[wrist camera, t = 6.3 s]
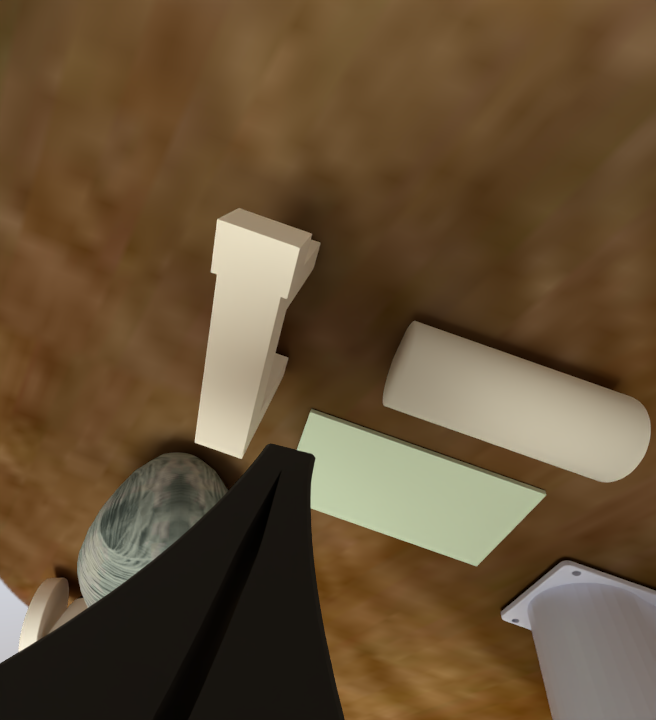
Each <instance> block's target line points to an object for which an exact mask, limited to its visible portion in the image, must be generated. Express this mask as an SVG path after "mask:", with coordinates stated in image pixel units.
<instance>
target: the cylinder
mask: <svg viewBox="0 0 656 720" xmlns="http://www.w3.org/2000/svg"><path fill="white" fill-rule="evenodd" d="M383 405H384V406H386V407H389V408H392V409H395V410H397V411H400V412H403V413H406V414H409V415H412V416H414V417H417V418H420V419H423V420H426V421H429V422H432V423H434V424H437V425H440V426H443V427H446V428H449V429H451V430H454V431H457V432H460V433H463V434H466V435H469V436H471V437H474V438H477V439H480V440H483V441H486V442H488V443H491V444H494V445H497V446H500V447H503V448H506V449H508V450H511V451H514V452H517V453H520V454H523V455H525V456H528V457H531V458H534V459H537V460H540V461H543V462H545V463H548V464H551V465H554V466H557V467H560V468H562V469H565V470H568V471H571V472H574V473H577V474H579V475H582V476H585V477H588V478H591V479H594V480H597V481H600V482H614V481H617V480H620V479H622V478H624V477H625V476H627V475H628V474H630V473H631V472H632V471H633V470H634V469H635V468H636V467H637V466H638V464H639V463H640V462H641V460H642V459H643V457H644V455H645V453H646V451H647V448H648V445H649V441H650V434H651V425H650V419H649V416H648V413H647V411H646V409H645V408H644V406H643V405H642V404H641V403H640V402H639V401H638V400H637V399H635V398H633V397H630V396H627V395H625V394H622V393H619V392H616V391H613V390H610V389H608V388H605V387H602V386H599V385H596V384H593V383H591V382H588V381H585V380H582V379H579V378H576V377H573V376H571V375H568V374H565V373H562V372H559V371H556V370H554V369H551V368H548V367H545V366H542V365H539V364H536V363H534V362H531V361H528V360H525V359H522V358H519V357H517V356H514V355H511V354H508V353H505V352H502V351H500V350H497V349H494V348H491V347H488V346H485V345H482V344H480V343H477V342H474V341H471V340H468V339H465V338H463V337H460V336H457V335H454V334H451V333H448V332H446V331H443V330H440V329H437V328H434V327H431V326H428V325H426V324H423V323H420V322H417V321H413V322H412V323H411V324H410V325H409V327H408V328H407V330H406V332H405V334H404V336H403V338H402V340H401V342H400V345H399V347H398V349H397V351H396V353H395V355H394V358H393V360H392V363H391V366H390V369H389V372H388V376H387V379H386V383H385V387H384V393H383Z"/></svg>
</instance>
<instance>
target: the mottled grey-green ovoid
mask: <svg viewBox="0 0 656 720" xmlns="http://www.w3.org/2000/svg"><path fill="white" fill-rule="evenodd" d="M227 492H228V489H227V488H226V486H225V485H224V483H223V482H222V480H221V479H220V477H219V476H218V474H217V473H216V471H215V470H213V469H212V468H211V467H210V466H209V465H207V464H206V463H205V462H204V461H202V460H201V459H199V458H198V457H196V456H194V455H192V454H187V453H179V452H177V453H166V454H162V455H160V456H159V457H157V458H155V459H153V460H152V461H150V462H148V463H147V464H145V465H143V466H142V467H140V468H139V469H137V470H135V471H134V472H133V473H132V475H131V476H130V477H129V478H128V479H127V480H126V481H125V482H124V483H123V484H122V485H121V486H120V487H119V488H118V489H117V490H116V491H115V492H114V494H113V495H112V496H111V497H110V498H109V500H108V501H107V502H106V503H105V505H104V506H103V507H102V508H101V510H100V511H99V513H98V515H97V517H96V518H95V520H94V522H93V523H92V525H91V526H90V528H89V530H88V532H87V535H86V537H85V540H84V542H83V545H82V547H81V549H80V552H79V557H78V563H77V573H78V579H79V584H80V590H81V593H82V595H83V598H84V600H85V603H86V605H87V607H90V606H91V605H93V604H94V603H96V602H97V601H98V600H100V599H101V598H103V597H104V596H106V595H107V594H109V593H110V592H112V591H113V590H114V589H116V588H117V587H118V586H120V585H121V584H122V583H124V582H125V581H127V580H128V579H129V578H131V577H132V576H133V575H134V574H136V573H137V572H138V571H140V570H141V569H142V568H143V567H145V566H146V565H147V564H149V563H150V562H151V561H152V560H154V559H155V558H156V557H157V556H159V555H160V554H161V553H162V552H163V551H165V550H166V549H167V548H168V547H169V546H171V545H172V544H173V543H174V542H175V541H177V540H178V539H179V538H180V537H181V536H182V535H183V534H184V533H186V532H187V531H188V530H189V529H190V528H191V527H192V526H193V525H194V524H195V523H196V522H197V521H199V520H200V519H201V518H202V517H203V516H204V515H205V514H206V513H207V512H208V511H209V510H210V509H211V508H212V507H213V506H214V505H215V504H216V503H217V502H218V501H219V500H220V499H221V498H222V497H223V496H224V495H225V494H226V493H227Z"/></svg>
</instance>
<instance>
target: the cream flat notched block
mask: <svg viewBox="0 0 656 720" xmlns="http://www.w3.org/2000/svg"><path fill="white" fill-rule="evenodd" d="M311 237H312V234H311V233H309V232H306V231H303V230H300V229H297V228H294V227H292V226H289V225H286V224H283V223H280V222H277V221H274V220H272V219H269V218H266V217H263V216H260V215H257V214H255V213H252V212H249V211H246V210H243V209H240V208H238V209H236V210H234V211H232V212H230V213H228V214H226V215H224V216H222V217H220V218H218V219H217V226H216V234H215V242H214V250H213V258H212V266H211V273H214V274H217V279H216V286H215V294H214V301H213V309H212V316H211V324H210V331H209V339H208V346H207V354H206V361H205V368H204V376H203V383H202V391H201V398H200V406H199V413H198V421H197V428H196V436H195V443H197V444H200V445H203V446H206V447H209V448H211V449H214V450H217V451H220V452H223V453H226V454H229V455H231V456H234V457H237V458H240V459H242V457H243V455H244V453H245V451H246V449H247V447H248V445H249V443H250V441H251V439H252V437H253V435H254V433H255V432H256V430H257V428H258V426H259V424H260V422H261V420H262V418H263V416H264V414H265V412H266V410H267V408H268V406H269V404H270V402H271V400H272V398H273V396H274V394H275V392H276V390H277V388H278V386H279V384H280V382H281V380H282V378H283V376H284V372H285V369H286V365H287V362H288V357H285V356H283V355H280V354H277V353H275V352H276V348H277V345H278V341H279V337H280V333H281V329H282V325H283V321H284V317H285V313H286V310H287V308H288V307H289V305H290V304H291V302H292V301H293V299H294V298H295V296H296V294H297V293H298V291H299V290H300V288H301V287H302V285H303V284H304V282H305V281H306V279H307V278H308V276H309V275H310V273H311V272H312V270H313V269H314V265H315V262H316V258H317V255H318V251H319V248H320V244H321V243H320V242H317V241H314V240H311Z"/></svg>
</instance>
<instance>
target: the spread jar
mask: <svg viewBox="0 0 656 720" xmlns="http://www.w3.org/2000/svg"><path fill="white" fill-rule="evenodd" d="M68 598H69V583H68V580H67V579H66V578H48V579H46V580H45V581H44V582H43V583H42V584H41V585H40V587H39V588H38V590H37V591H36V593H35V595H34V597H33V599H32V601H31V603H30V606H29V608H28V611H27V613H26V617H25V620H24V623H23V626H22V630H21V635H20V641H19V652H20V651H21V650H23V649H25V648H26V647H28V646H30V645H31V644H33V643H35V642H36V641H38V640H39V639H41V638H43V637H44V636H46V635H48V634H49V633H51V632H52V631H54V630H55V629H57V628H59V627H60V626H62V625H63V624H65V623H66V622H68V621H69V620H71V619H72V618H74V617H75V616H77V615H78V614H79V613H81V612H82V611H84V610H85V609H87V608H88V607H87V605H86V603H85V600H84V598H83V595H82V596H80V597H79V598H77V599H76V600H75V601H74V602H73V603H72V604H70V605H69V607H68V608H67V605H68Z"/></svg>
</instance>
